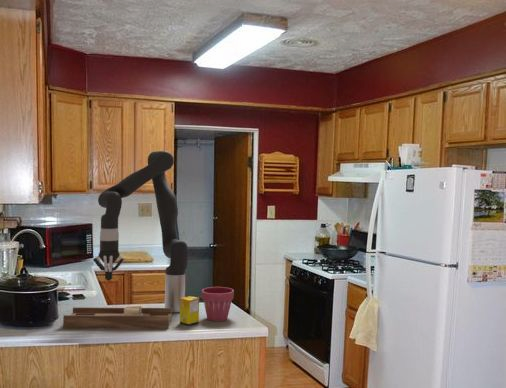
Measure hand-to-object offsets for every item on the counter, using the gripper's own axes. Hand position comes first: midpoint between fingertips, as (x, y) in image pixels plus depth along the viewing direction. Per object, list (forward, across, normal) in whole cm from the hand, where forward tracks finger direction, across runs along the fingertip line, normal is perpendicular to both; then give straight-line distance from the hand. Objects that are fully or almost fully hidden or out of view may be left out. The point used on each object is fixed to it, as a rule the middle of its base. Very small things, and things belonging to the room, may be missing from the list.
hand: (108, 280), depth 205 cm
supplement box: (+19, -34, -1) cm, 39 cm away
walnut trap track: (+18, -5, 0) cm, 19 cm away
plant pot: (+19, -46, -9) cm, 50 cm away
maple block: (+15, -10, +1) cm, 18 cm away
